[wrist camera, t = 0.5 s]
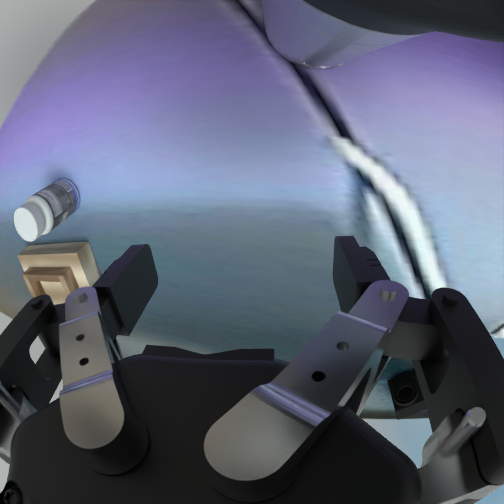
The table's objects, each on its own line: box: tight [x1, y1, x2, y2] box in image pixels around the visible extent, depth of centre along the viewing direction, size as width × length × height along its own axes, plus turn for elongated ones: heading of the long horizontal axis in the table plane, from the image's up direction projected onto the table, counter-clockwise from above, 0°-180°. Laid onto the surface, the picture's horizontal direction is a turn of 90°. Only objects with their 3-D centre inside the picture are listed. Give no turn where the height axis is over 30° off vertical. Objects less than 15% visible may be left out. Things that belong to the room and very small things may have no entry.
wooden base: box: [18, 241, 100, 305], centre depth 35 cm, size 13×13×5 cm
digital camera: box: [387, 370, 426, 420], centre depth 40 cm, size 10×5×7 cm, turn 119°
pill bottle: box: [14, 179, 80, 241], centre depth 27 cm, size 5×5×8 cm
